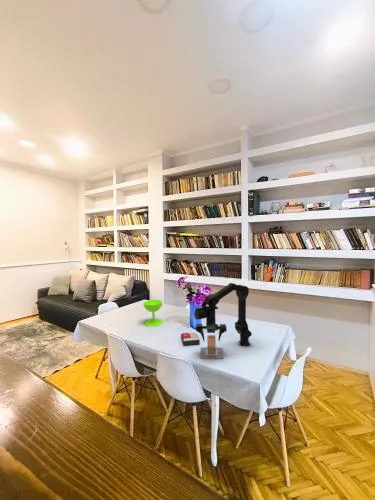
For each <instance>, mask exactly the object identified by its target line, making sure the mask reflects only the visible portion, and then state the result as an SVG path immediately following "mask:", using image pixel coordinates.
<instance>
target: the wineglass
mask: <svg viewBox="0 0 375 500" xmlns="http://www.w3.org/2000/svg"><path fill="white" fill-rule="evenodd" d="M162 305H163V301H162V300H159V299H149V300H146V301H143V307H144V309H145V310H146V311H148V312H150V313H151V315H152V316H151V317H152V319H149V320H146V321H145V322H144V323H145V325H144V326H146V325H147V326H146V327H149V326H154V327H159V326H161V324H162V325H163V324H164V321H163V320H162V319H158V318H156V317H155V316H156V315H155V312H158V311H159V310H160V309H161V308H162V307H163V306H162Z"/></svg>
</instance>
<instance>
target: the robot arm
mask: <svg viewBox="0 0 375 500" xmlns="http://www.w3.org/2000/svg"><path fill="white" fill-rule="evenodd" d="M233 291H235V295H236V297H237V298H238V299H237V300H238V301H237V302H238V305H237V306H238V307H237V308H238V309H237V311H238V312H237V313H238V314H237V318H238V319H237V320H236V321H234V328H235V329H234V330H235V331H236V332H237V334H239V341H238V343H239V346H240V347H241V346H243V347H244V346H248V347H249V346H251V344H250V340H249V338H250V337H252V334H253V332H251V331H250V330H249V324H248V322H247V319H246V318H247V298H248V296H249V291H250V290H249V287H248V286H247V285H242V284H236V283H233V282H230V283H228V284H227V285H225V286H224V287H223V288H221V289H219V290H218V291H217V292H215V293H211V294H209V295H206V296H205V297H204V300H203V301H202V303H201V305H200V307H195V310H194V312H193V316H194V318H195V320H198V321H199V320H204V319H205V321H206V323H205V325H203V324H202V323H197V324H196V325H195V331H196V333H198V334H200V335H201V339H202V341H203V342H205V332H204V330H206V333H207V334H210V333H211V334H215V333H216V332H217V331H218V342H220V341H221V337H222V335H223V334H224V333H227V329H228V328H227V325H226V323H219V324H218V323H216V322H217V321H216V310H219V307H218V306H217V304H219V302H220V301H221V299H223V298H225V297H227V295H229V294H230V293H232V292H233Z"/></svg>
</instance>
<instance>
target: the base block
mask: <svg viewBox="0 0 375 500" xmlns="http://www.w3.org/2000/svg"><path fill="white" fill-rule="evenodd" d="M207 347H208V354H216V348H217V346H216V347H213V346H208V345H207Z"/></svg>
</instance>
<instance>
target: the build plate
mask: <svg viewBox="0 0 375 500" xmlns="http://www.w3.org/2000/svg"><path fill="white" fill-rule="evenodd" d="M199 355H200V356H199V359H200V360H201V359H205V360H224V350H223V347H216V354H208V346H207V347H205V346H202V347H200V354H199Z"/></svg>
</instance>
